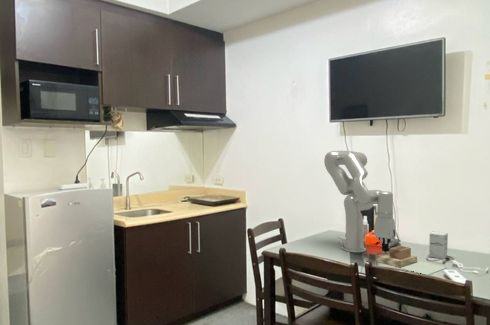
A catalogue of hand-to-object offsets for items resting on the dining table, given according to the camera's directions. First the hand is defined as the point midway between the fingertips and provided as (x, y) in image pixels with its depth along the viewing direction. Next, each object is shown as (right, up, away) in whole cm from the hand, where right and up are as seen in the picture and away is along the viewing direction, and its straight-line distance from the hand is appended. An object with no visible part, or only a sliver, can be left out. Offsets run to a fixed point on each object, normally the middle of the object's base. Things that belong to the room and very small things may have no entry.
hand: (385, 250), depth 199 cm
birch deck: (+4, -5, -5) cm, 8 cm away
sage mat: (+12, -5, -16) cm, 21 cm away
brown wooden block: (+5, +1, -7) cm, 8 cm away
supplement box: (+29, -4, +4) cm, 30 cm away
